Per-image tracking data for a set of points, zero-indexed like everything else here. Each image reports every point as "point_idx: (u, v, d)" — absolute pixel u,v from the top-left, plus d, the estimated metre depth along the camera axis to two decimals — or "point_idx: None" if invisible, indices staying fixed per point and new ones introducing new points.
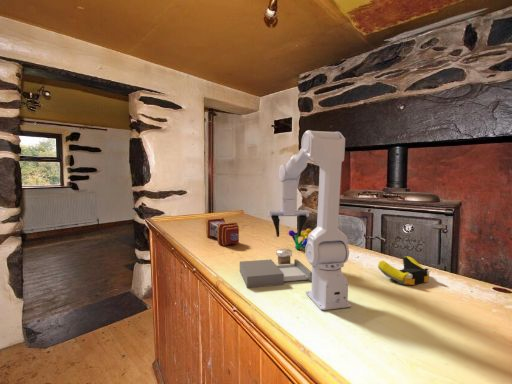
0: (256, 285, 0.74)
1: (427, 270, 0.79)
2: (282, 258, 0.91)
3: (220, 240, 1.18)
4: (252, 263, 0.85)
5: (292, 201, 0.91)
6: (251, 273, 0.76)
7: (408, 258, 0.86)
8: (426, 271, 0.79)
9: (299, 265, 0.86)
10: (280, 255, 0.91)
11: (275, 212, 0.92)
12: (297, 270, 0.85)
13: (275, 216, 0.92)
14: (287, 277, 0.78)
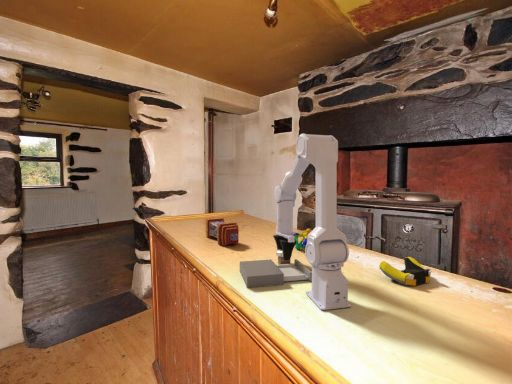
0: (256, 285, 0.74)
1: (428, 271, 0.78)
2: (282, 258, 0.91)
3: (220, 240, 1.18)
4: (252, 263, 0.85)
5: (278, 222, 0.91)
6: (251, 273, 0.76)
7: (409, 258, 0.85)
8: (427, 272, 0.78)
9: (299, 265, 0.86)
10: (280, 255, 0.91)
11: (276, 230, 0.97)
12: (297, 270, 0.85)
13: None
14: (287, 277, 0.78)
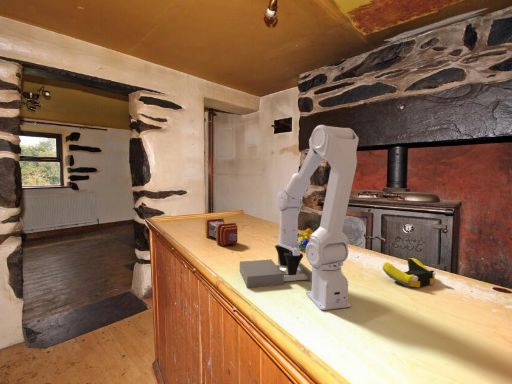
0: (256, 285, 0.74)
1: (433, 272, 0.77)
2: None
3: (219, 240, 1.17)
4: (252, 263, 0.85)
5: (281, 232, 0.81)
6: (251, 273, 0.76)
7: (413, 260, 0.84)
8: (432, 273, 0.77)
9: (299, 265, 0.86)
10: (284, 273, 0.81)
11: None
12: (297, 270, 0.85)
13: None
14: (287, 277, 0.78)
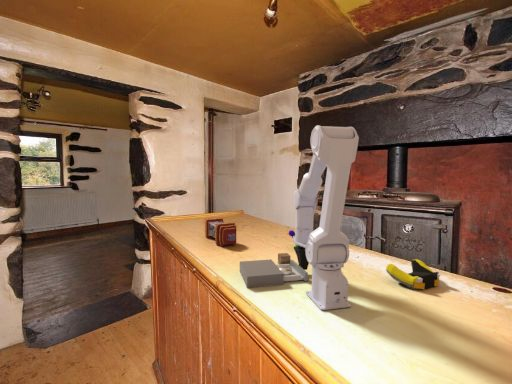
0: (256, 285, 0.74)
1: (437, 274, 0.76)
2: (282, 258, 0.91)
3: (218, 240, 1.17)
4: (252, 263, 0.85)
5: (297, 230, 0.82)
6: (251, 273, 0.76)
7: (417, 261, 0.83)
8: (436, 275, 0.76)
9: (294, 265, 0.86)
10: None
11: (294, 238, 0.88)
12: (292, 271, 0.84)
13: None
14: None
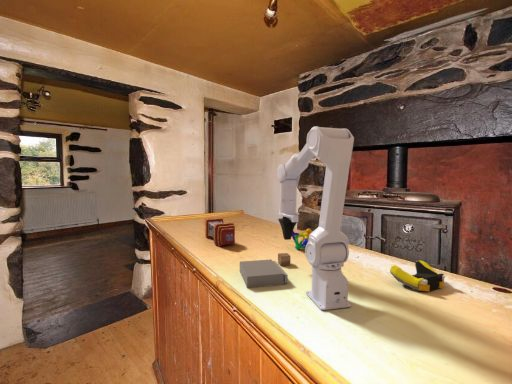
0: (256, 285, 0.74)
1: (442, 275, 0.75)
2: (282, 258, 0.91)
3: (216, 240, 1.17)
4: (252, 263, 0.85)
5: (281, 202, 0.88)
6: (251, 273, 0.76)
7: (421, 262, 0.82)
8: (441, 276, 0.75)
9: None
10: None
11: (279, 211, 0.94)
12: None
13: None
14: None
